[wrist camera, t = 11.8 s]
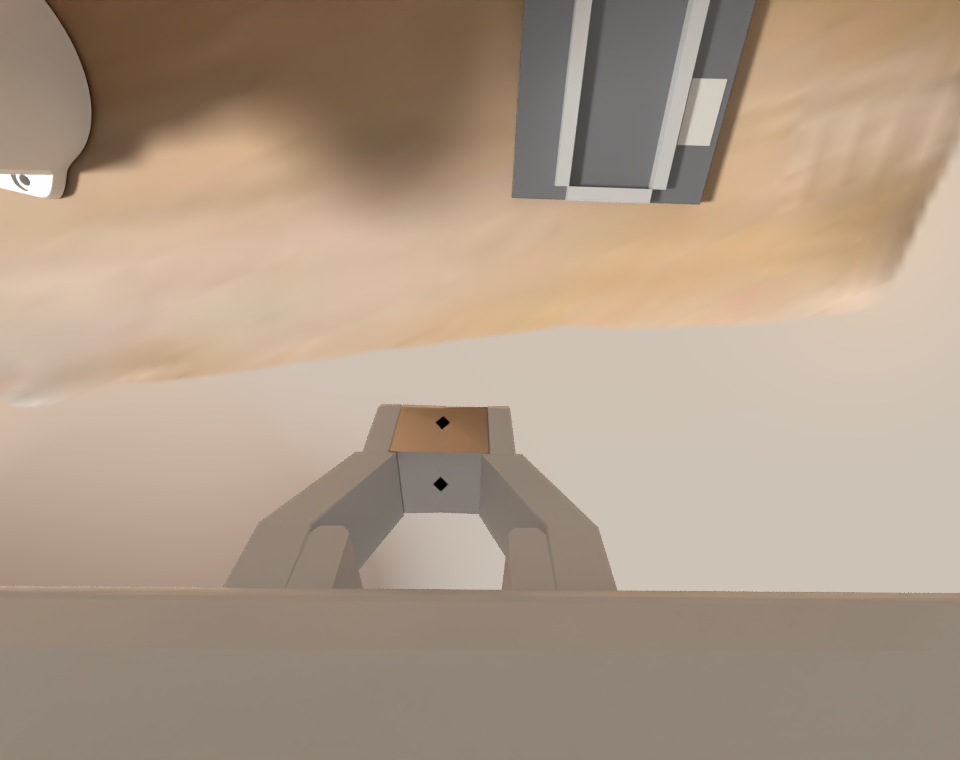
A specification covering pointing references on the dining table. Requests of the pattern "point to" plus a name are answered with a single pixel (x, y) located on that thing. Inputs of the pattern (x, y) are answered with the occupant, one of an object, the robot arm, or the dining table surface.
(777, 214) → the dining table surface
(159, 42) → the dining table surface
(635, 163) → the switch panel
